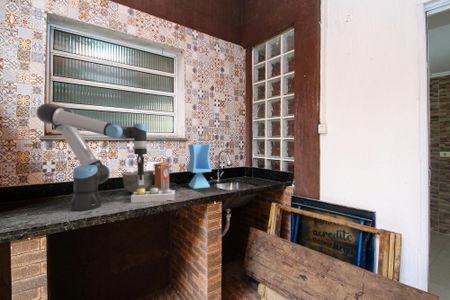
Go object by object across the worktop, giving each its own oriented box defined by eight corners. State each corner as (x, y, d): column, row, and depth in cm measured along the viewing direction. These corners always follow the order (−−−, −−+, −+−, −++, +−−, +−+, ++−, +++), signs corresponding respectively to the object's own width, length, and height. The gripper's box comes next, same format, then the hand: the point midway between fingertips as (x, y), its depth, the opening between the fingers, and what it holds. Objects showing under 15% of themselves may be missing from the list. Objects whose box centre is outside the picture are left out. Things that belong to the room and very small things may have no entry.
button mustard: (136, 195, 140) (136, 190, 140) (137, 193, 145) (137, 188, 145) (144, 195, 141) (144, 189, 141) (145, 193, 146) (145, 188, 146)
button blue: (162, 196, 144) (162, 190, 144) (163, 194, 149) (163, 189, 149) (170, 195, 145) (170, 190, 145) (170, 193, 150) (170, 188, 150)
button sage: (149, 194, 142) (149, 189, 142) (150, 193, 147) (150, 187, 147) (157, 194, 143) (157, 189, 143) (158, 192, 148) (158, 187, 148)
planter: (193, 189, 176) (193, 144, 175) (187, 185, 190) (186, 144, 189) (211, 187, 183) (211, 144, 182) (204, 184, 197) (204, 144, 196)
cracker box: (170, 190, 173) (161, 194, 158) (162, 189, 175) (152, 194, 160) (170, 162, 172) (161, 164, 158) (162, 162, 174) (152, 164, 159)
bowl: (157, 189, 176) (157, 170, 175) (148, 195, 154) (148, 174, 154) (129, 189, 175) (128, 170, 175) (116, 196, 153) (116, 174, 153)
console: (131, 202, 136) (130, 196, 136) (134, 198, 148) (134, 192, 148) (174, 200, 142) (174, 194, 142) (174, 195, 154) (174, 190, 154)
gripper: (145, 148, 137) (146, 186, 138) (147, 147, 150) (148, 182, 150) (132, 148, 135) (133, 187, 136) (135, 147, 148) (136, 183, 149)
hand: (141, 184), depth 143 cm, fingers closed
